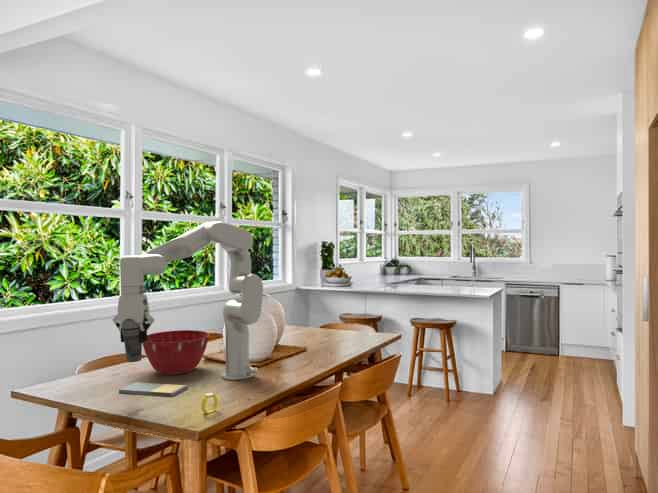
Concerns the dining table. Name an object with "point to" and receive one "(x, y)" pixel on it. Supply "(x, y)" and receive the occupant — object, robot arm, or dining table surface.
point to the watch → (205, 402)
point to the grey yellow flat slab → (153, 389)
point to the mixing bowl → (175, 350)
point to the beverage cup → (132, 340)
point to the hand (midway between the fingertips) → (133, 341)
